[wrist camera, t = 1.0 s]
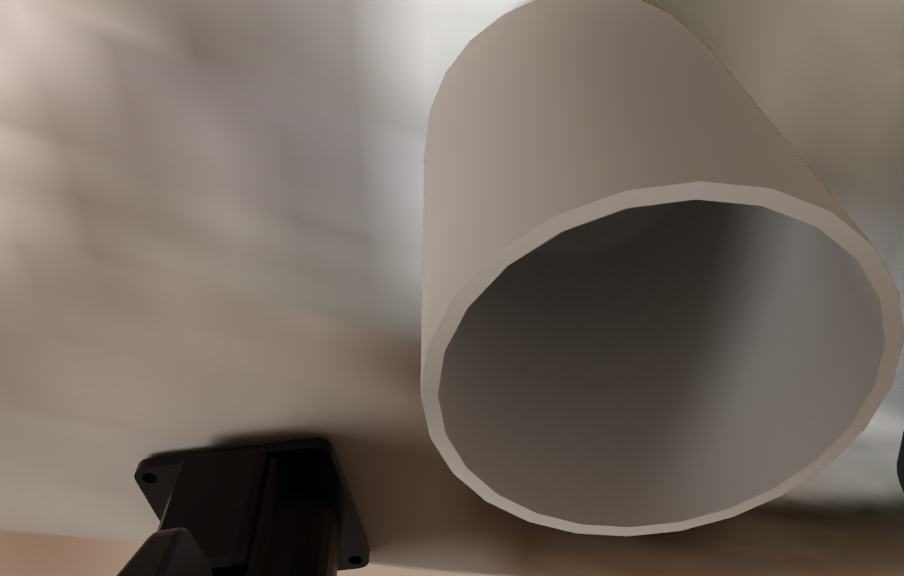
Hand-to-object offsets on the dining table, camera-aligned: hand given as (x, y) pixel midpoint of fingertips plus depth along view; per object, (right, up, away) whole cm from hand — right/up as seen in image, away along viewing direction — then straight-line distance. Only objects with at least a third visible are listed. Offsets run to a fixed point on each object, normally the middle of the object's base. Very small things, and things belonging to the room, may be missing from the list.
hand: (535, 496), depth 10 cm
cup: (+2, +5, +10) cm, 12 cm away
